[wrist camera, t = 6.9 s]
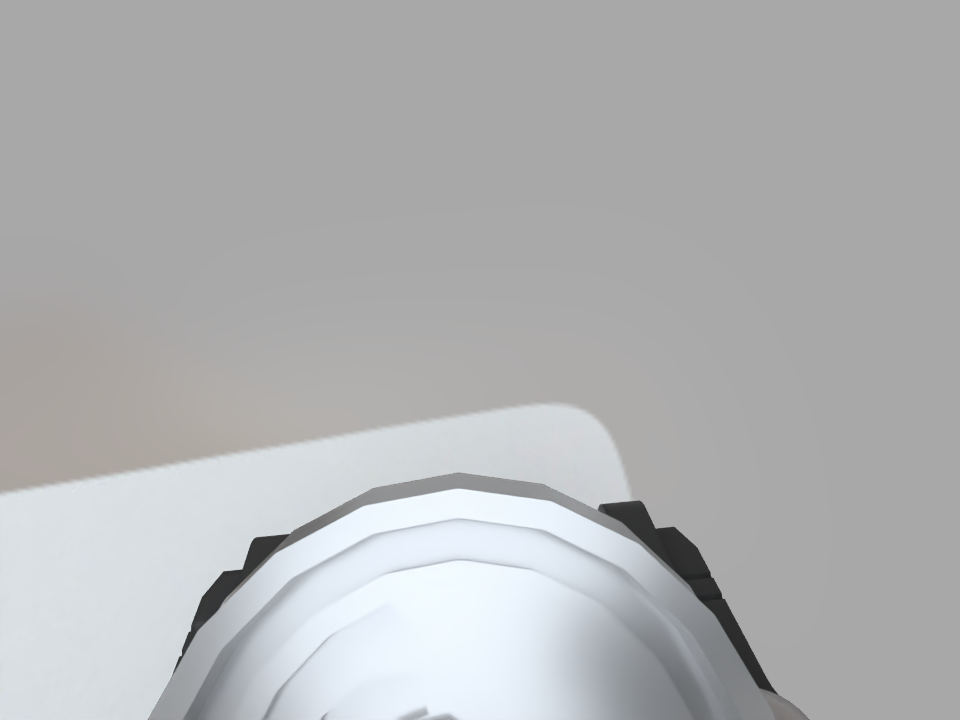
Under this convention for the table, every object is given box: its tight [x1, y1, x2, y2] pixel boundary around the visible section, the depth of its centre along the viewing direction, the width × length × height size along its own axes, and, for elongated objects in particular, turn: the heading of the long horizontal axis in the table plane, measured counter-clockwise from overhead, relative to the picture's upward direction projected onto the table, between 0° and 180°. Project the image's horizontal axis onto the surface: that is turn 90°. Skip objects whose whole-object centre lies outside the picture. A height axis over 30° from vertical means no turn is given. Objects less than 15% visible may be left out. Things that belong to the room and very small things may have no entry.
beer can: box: [148, 473, 775, 720], centre depth 10 cm, size 5×5×12 cm
